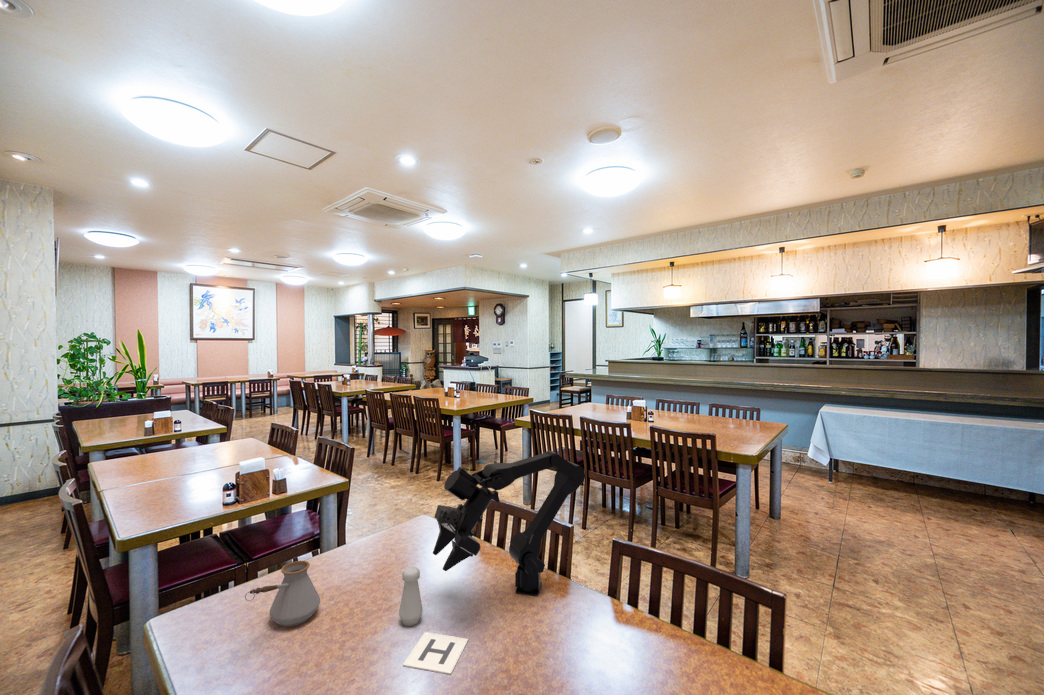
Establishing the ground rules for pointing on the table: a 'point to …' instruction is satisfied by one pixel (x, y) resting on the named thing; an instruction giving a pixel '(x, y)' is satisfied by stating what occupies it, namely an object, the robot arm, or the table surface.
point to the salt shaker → (410, 597)
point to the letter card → (436, 653)
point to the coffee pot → (292, 595)
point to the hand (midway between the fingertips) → (438, 562)
